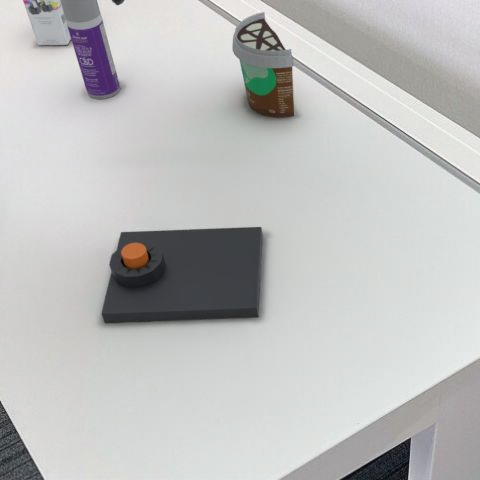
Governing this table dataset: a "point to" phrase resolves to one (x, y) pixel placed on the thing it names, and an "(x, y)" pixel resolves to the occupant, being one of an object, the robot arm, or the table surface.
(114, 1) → the robot arm
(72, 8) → the container
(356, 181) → the table surface
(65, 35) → the ink box
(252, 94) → the food container
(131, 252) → the button
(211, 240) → the scale
